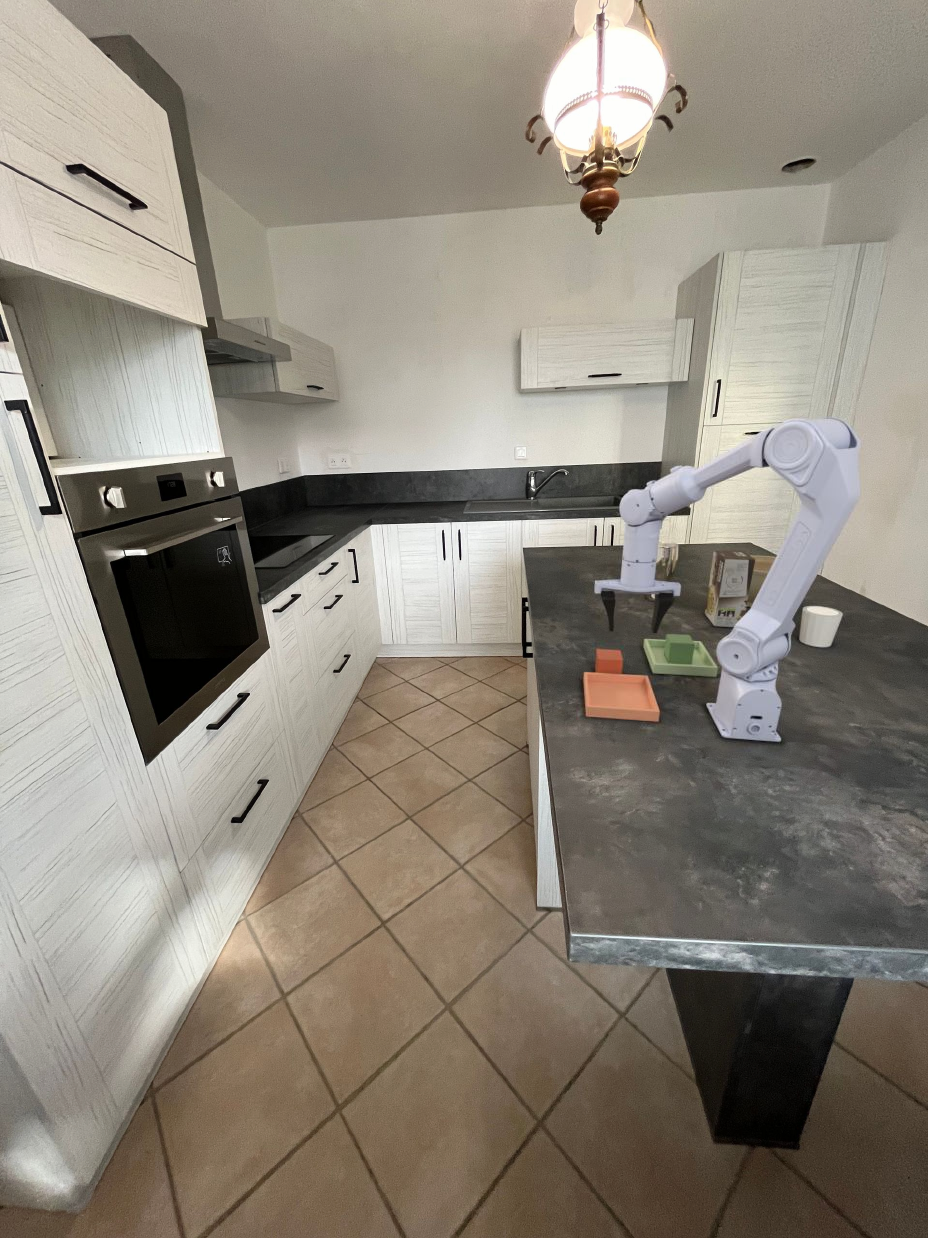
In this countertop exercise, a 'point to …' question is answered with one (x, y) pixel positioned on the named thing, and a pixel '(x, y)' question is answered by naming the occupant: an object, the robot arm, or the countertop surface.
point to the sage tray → (659, 664)
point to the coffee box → (729, 587)
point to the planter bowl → (759, 576)
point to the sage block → (679, 649)
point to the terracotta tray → (620, 697)
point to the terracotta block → (609, 661)
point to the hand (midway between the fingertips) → (632, 630)
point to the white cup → (819, 625)
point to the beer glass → (665, 563)
